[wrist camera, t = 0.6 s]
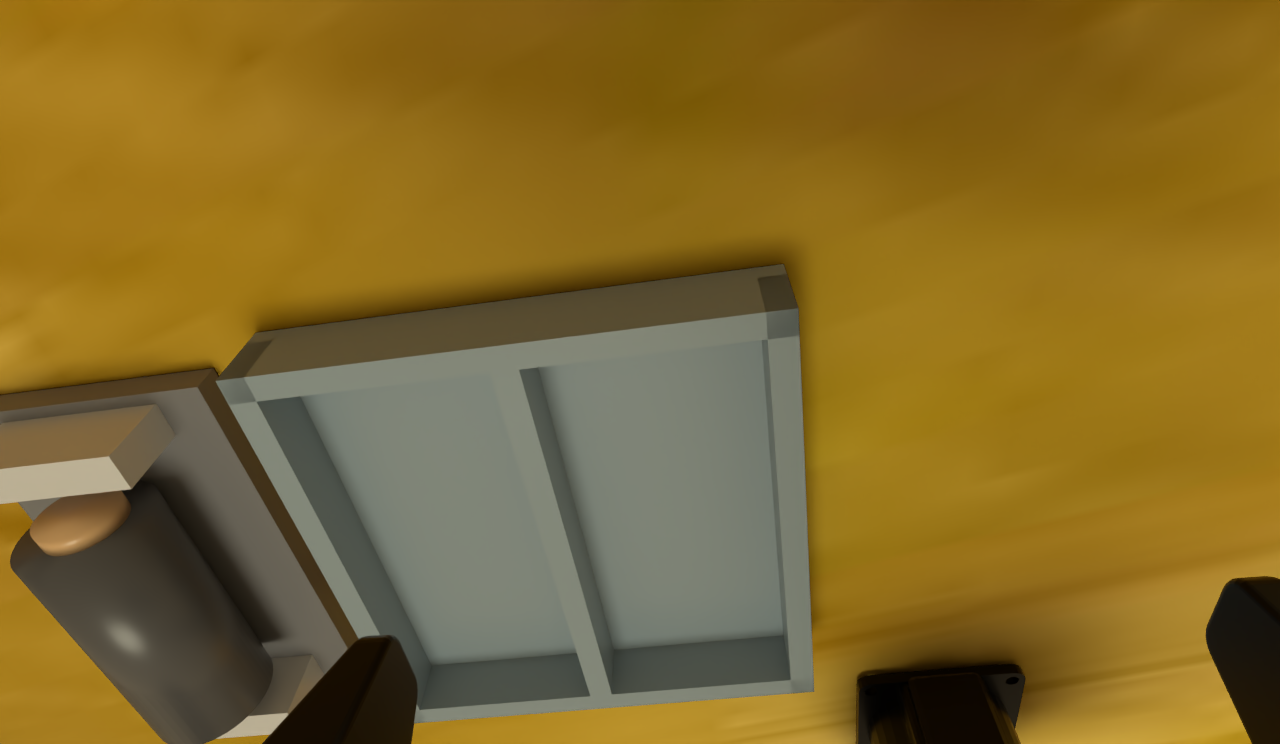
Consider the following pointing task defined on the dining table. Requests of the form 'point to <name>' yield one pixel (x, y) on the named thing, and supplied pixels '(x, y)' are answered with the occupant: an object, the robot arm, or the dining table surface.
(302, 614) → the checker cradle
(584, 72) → the dining table surface
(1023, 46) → the dining table surface
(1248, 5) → the dining table surface
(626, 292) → the cell tray
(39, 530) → the battery cell
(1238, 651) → the robot arm
